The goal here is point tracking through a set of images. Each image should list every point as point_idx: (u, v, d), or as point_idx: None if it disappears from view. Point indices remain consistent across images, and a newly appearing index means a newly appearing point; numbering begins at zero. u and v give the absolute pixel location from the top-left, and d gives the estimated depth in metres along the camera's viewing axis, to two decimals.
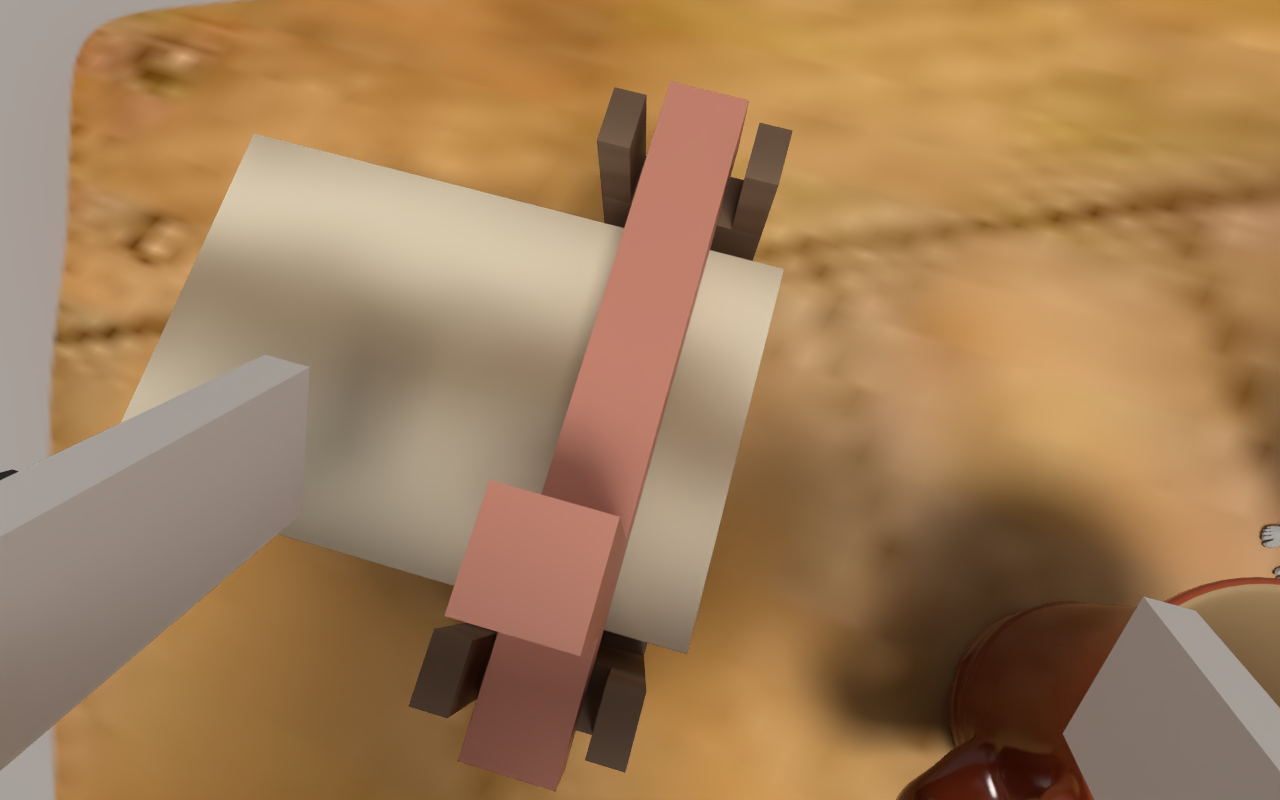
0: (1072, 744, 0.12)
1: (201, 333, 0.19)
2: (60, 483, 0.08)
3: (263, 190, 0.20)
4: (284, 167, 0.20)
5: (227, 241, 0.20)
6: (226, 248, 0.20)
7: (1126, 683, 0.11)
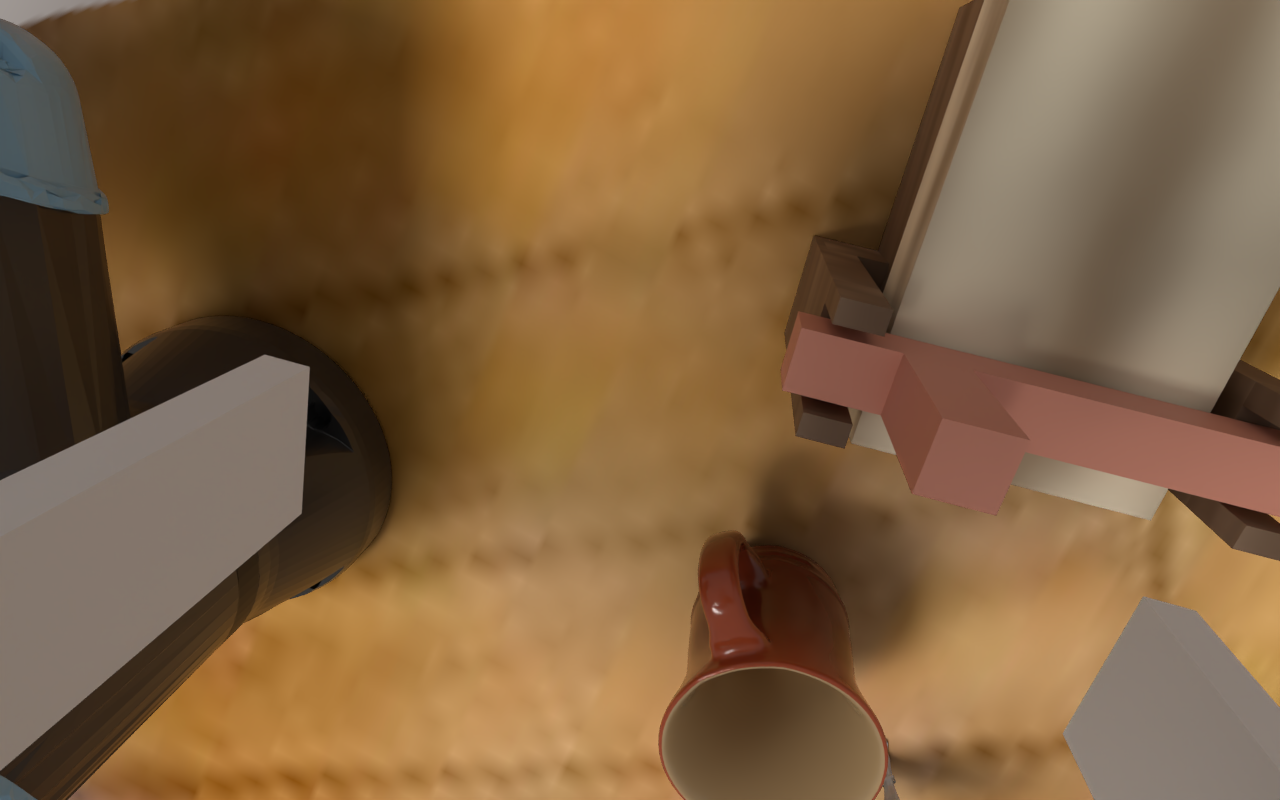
0: (1072, 744, 0.12)
1: (1177, 13, 0.20)
2: (61, 483, 0.08)
3: None
4: None
5: None
6: (1275, 20, 0.19)
7: (1126, 683, 0.11)
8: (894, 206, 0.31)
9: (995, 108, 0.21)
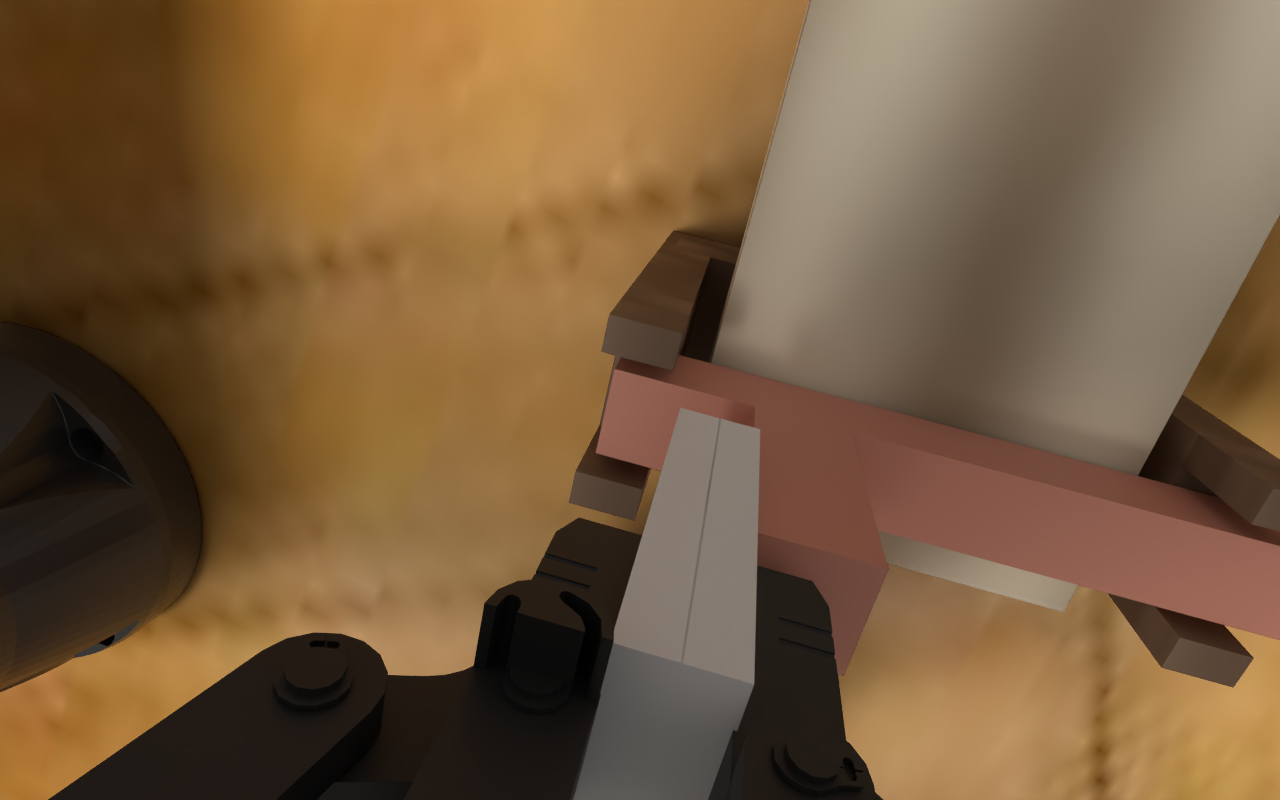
0: None
1: None
2: (681, 534, 0.10)
3: None
4: None
5: None
6: None
7: None
8: None
9: (830, 51, 0.15)
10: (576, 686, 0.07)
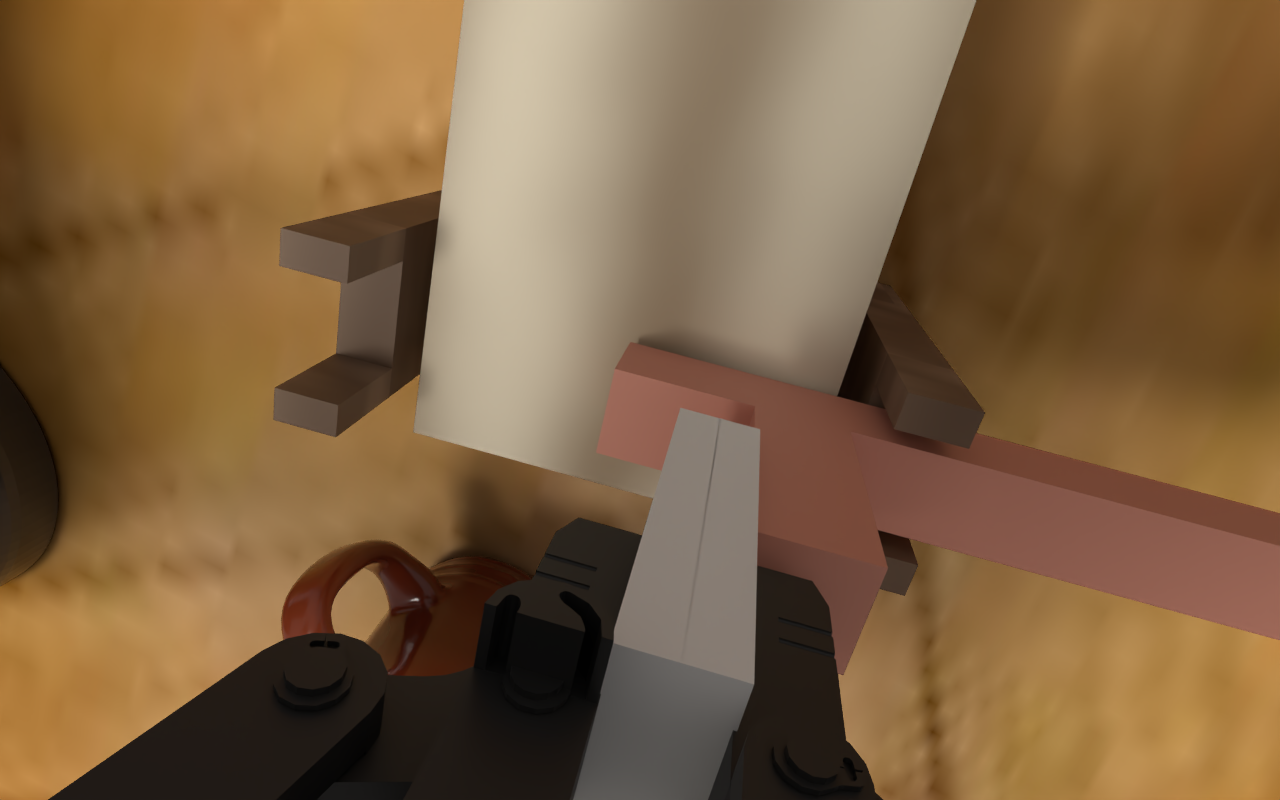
0: None
1: None
2: (681, 534, 0.10)
3: None
4: None
5: None
6: None
7: None
8: None
9: None
10: (576, 685, 0.07)
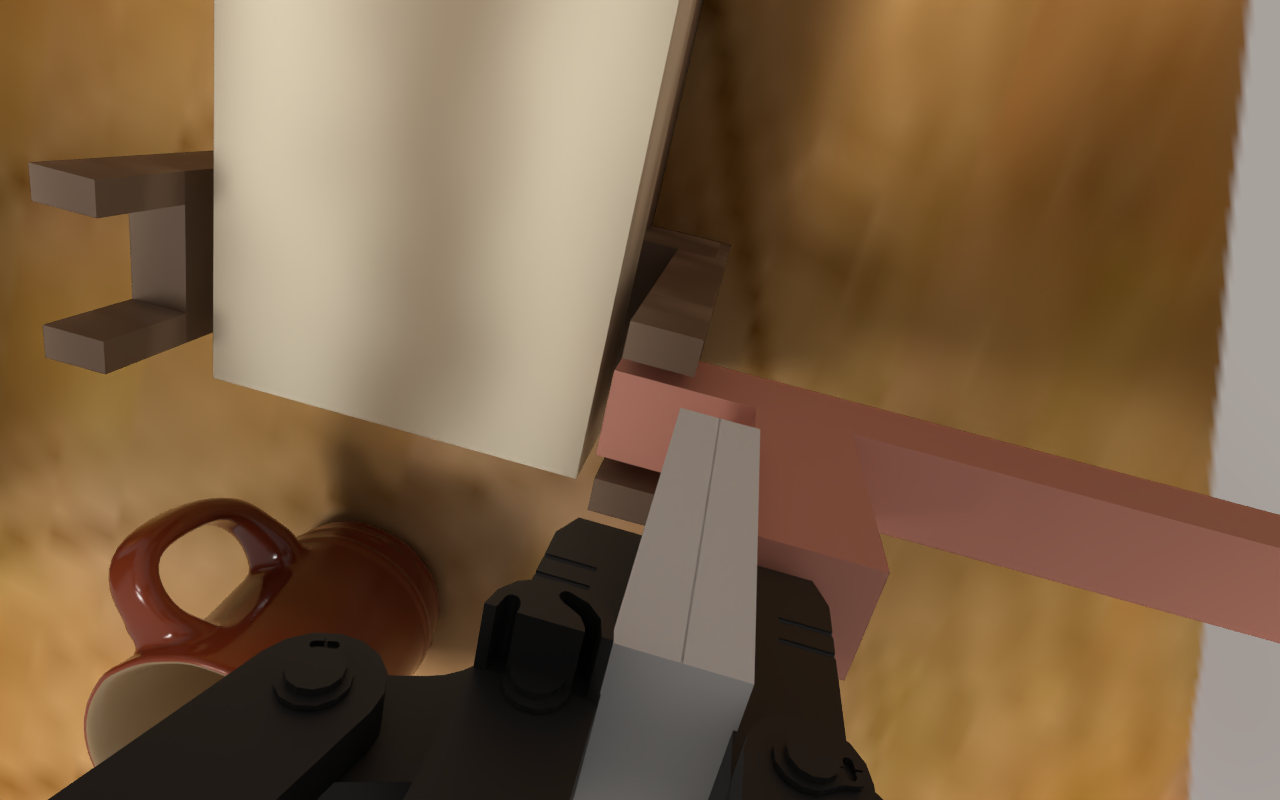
0: None
1: None
2: (682, 534, 0.10)
3: None
4: None
5: None
6: None
7: None
8: None
9: None
10: (576, 686, 0.07)
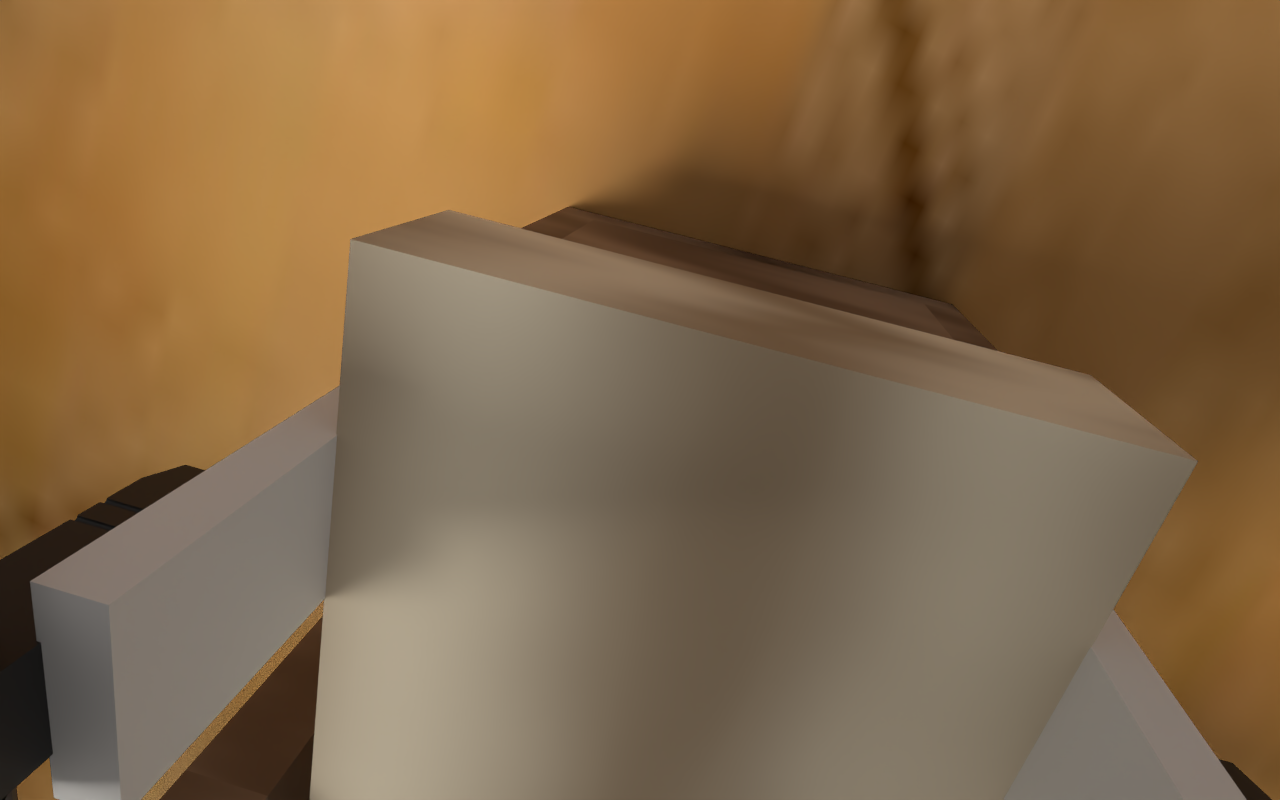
0: None
1: (672, 403, 0.09)
2: (251, 477, 0.09)
3: (1023, 494, 0.09)
4: (1081, 534, 0.09)
5: (893, 432, 0.09)
6: (873, 433, 0.09)
7: None
8: None
9: (372, 540, 0.10)
10: None
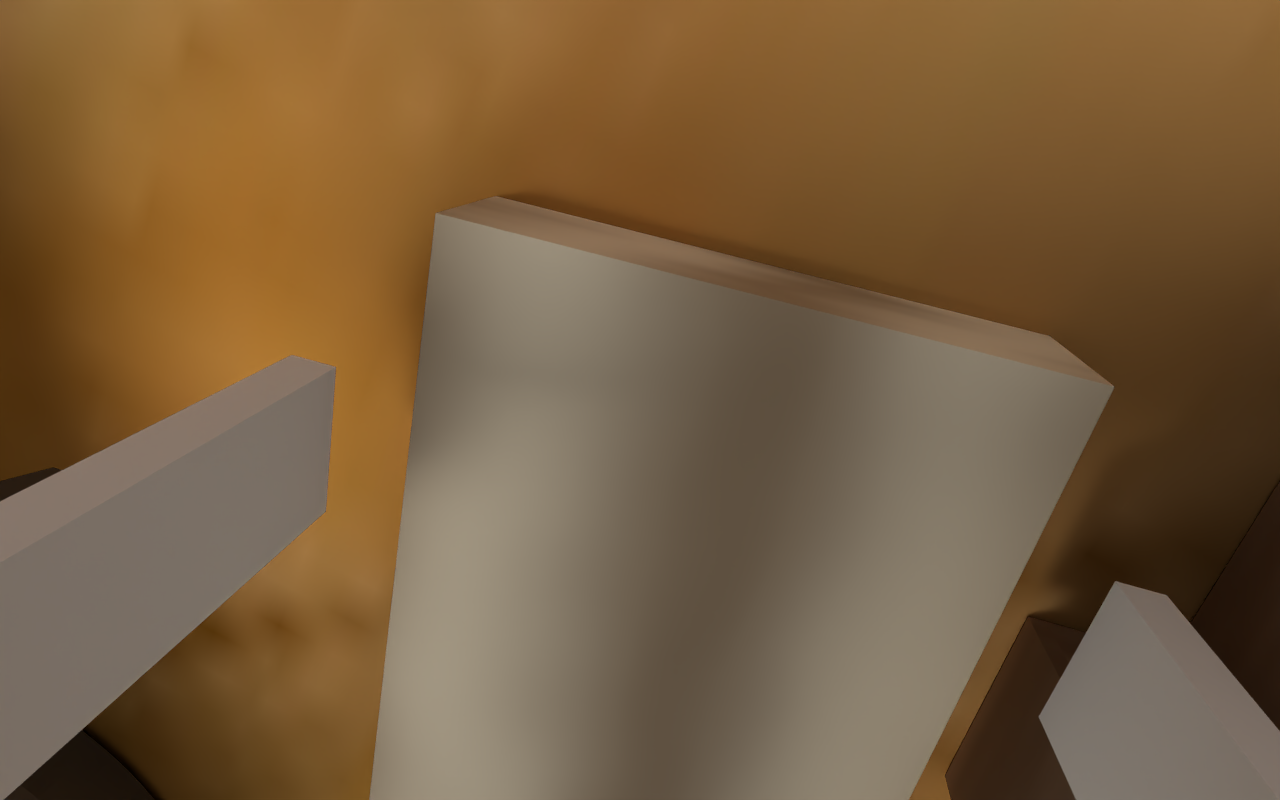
0: (1047, 727, 0.12)
1: (694, 345, 0.11)
2: (105, 480, 0.08)
3: (977, 416, 0.11)
4: (1024, 449, 0.11)
5: (872, 366, 0.11)
6: (857, 367, 0.11)
7: (1098, 666, 0.11)
8: (1228, 585, 0.14)
9: (443, 466, 0.13)
10: None
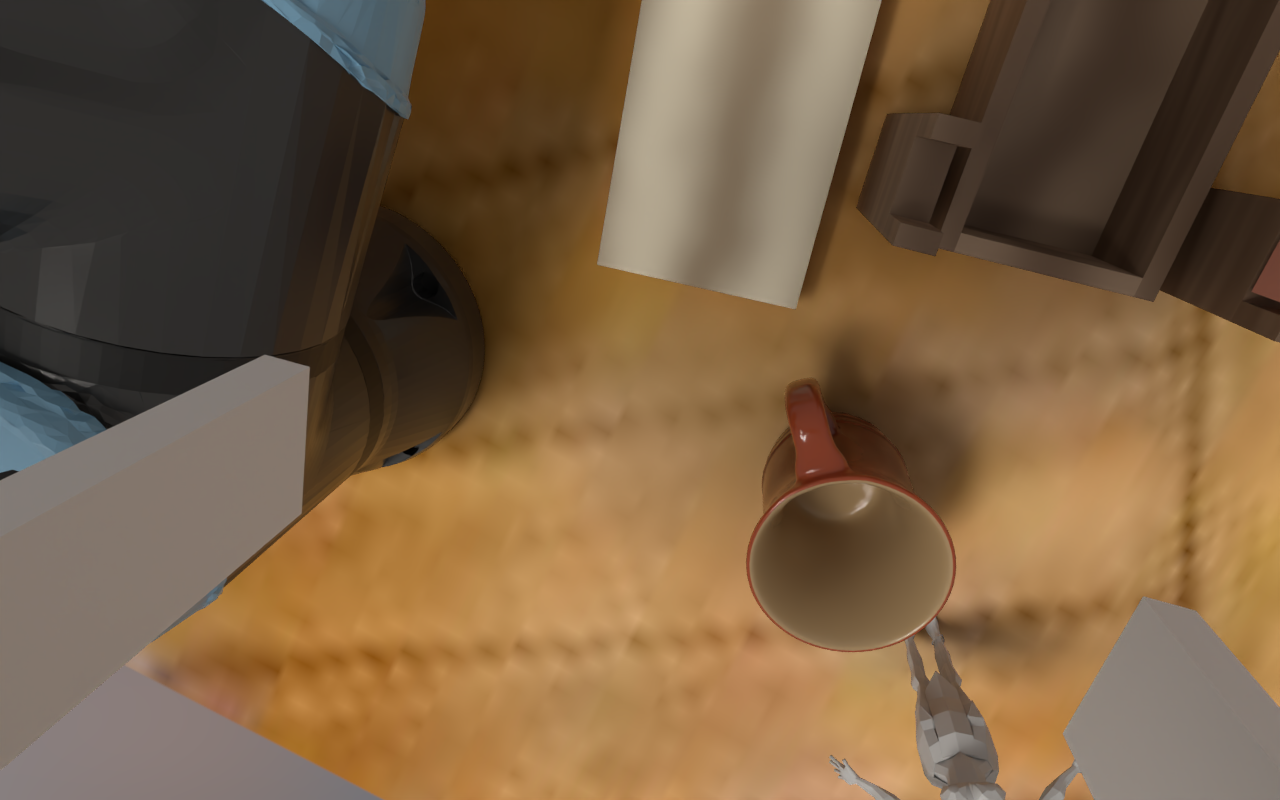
0: (1072, 744, 0.12)
1: None
2: (61, 483, 0.08)
3: None
4: None
5: None
6: None
7: (1126, 683, 0.11)
8: (962, 84, 0.34)
9: (651, 27, 0.33)
10: None
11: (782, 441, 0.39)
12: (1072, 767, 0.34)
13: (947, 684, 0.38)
